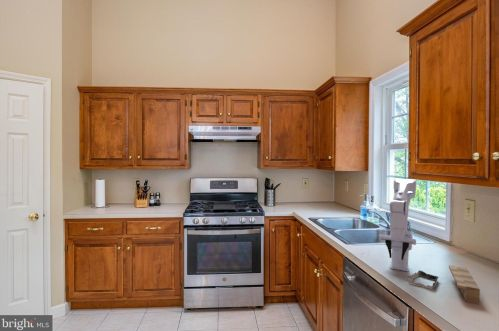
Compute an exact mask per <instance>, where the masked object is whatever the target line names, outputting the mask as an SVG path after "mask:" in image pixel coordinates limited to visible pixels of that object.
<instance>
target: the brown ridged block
mask: <svg viewBox="0 0 499 331" xmlns="http://www.w3.org/2000/svg"><path fill="white" fill-rule="evenodd" d="M448 269H449V270H450V274H451V275H452V278H453V279H454V281H455V285H456V286H457V288H458V289H459V290H460V292H461V294H462V296H463V299H464V300H465V302H466V303H472V304H478V305H479V304H480V294H481V292H480V291H481V289H480V287H479V286H478V284H477V282H476V280H475V279H474V277H473V275H472V274H471V273H470V271H469V269H468V268H467V267H462V266H457V265H456V266H455V265H450V264H449V265H448Z"/></svg>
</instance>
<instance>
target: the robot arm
mask: <svg viewBox="0 0 499 331" xmlns="http://www.w3.org/2000/svg"><path fill="white" fill-rule="evenodd" d="M416 190H417V180H416V179H405V178H397V177H396V178H395V179H394V181H393V191H394V192H393V194H394V196H393V198H392V201H390V203H389V217H390V227H389V228H390V231H389V235H387V234H385V235H384V234H379V235H378V240H379V241H385V242H384V244H385V246H386V248H387V251H388V254H389V258H390V259H391V261H390V264H389V265H390V267H389V268H390V269H391V270H392V269H393V270H398V271H402V272H410V265H409V256H410V255H409V252H410V251H411V250H412V249H413V246H416V245H417V239H414V238H413V234H412V233H411V231H409V230H408V221H409V220H408V218H409V208H410V207H409V206H410V202H411V200H412V199H414V198H415V196H416V192H417V191H416Z"/></svg>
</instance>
